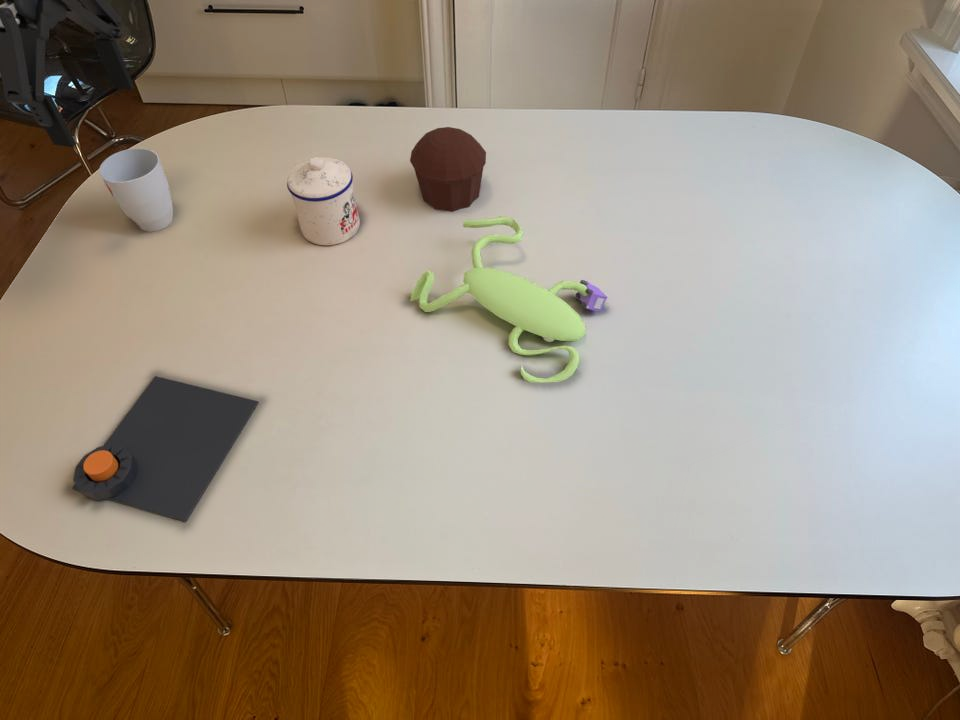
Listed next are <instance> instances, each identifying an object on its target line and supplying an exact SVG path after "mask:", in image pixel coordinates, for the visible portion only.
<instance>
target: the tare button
mask: <svg viewBox="0 0 960 720" xmlns="http://www.w3.org/2000/svg"><path fill="white" fill-rule="evenodd" d="M83 468H84V471H85V472H86V473H87V474H88V476H89V477H90V478H91V479H92V480H94V481H105V480H108V479H109V478H111V477H112V476H113V475H114V474H115V473H116V472H117V470H118V462H117V460H116V459H115V458H114V456H113V455H112V454H111V453H110V452H108V451H105V450H101V451H97V452H94V453H92V454H91V455H90V456H88V457H87V459H86V460H85V462H84V465H83Z"/></svg>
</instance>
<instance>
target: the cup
mask: <svg viewBox="0 0 960 720" xmlns="http://www.w3.org/2000/svg"><path fill="white" fill-rule="evenodd" d="M98 173H99V176H100V177H101V180H102V181H103V182H104V185H105V186H106V188H107V189H108V191H109V193H110V194H111V196H112V197H113V199H114V201H115V202H116V203H117V204H118V205H119V207H120V208H121V210H122V211H123V212H124V214H125V215H126V216H127V217H128V219H130V220H131V221H132V222H133V223H134V225H136V226H137V227H138V228H139V229H140V230H141V231H143V232H147V233H149V232H150V233H152V232H153V233H154V232H160V231H162V230H165V229H166V228H168V227H169V226H170V225H171V224H172V222H173V220H174V211H173V200H172V195H171V191H170V186H169V182H168V179H167V176H166V172H165V171H164V168H163V165H162V161H161V159H160V157H159V155H158V153H157V152H156V151H154V150H152V149H149V148H144V147H134V148H127V149H123V150H120V151H117V152H116V153H113V154H111V155H109V156H108V157H107V158H105V160H103V161H102V162H101V164H100V166H99V168H98Z"/></svg>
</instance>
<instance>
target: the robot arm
mask: <svg viewBox="0 0 960 720" xmlns="http://www.w3.org/2000/svg"><path fill="white" fill-rule="evenodd" d="M67 18H68V19H69V20H71V21H72V22H74V23H76V24H77V25H79V26H80V27H82V28H84V29H85V30H87V31H88V32H89V33H91V34H92V35H94V36H96V37H99V38H95V39H94V40H93V41H92V42H93V45H94V46H95V49H96V51H97V53H98V55H99V58H100V60H101V62H102V65H103V67H104V69H105V71H106V73H107V76H108V79H109V80H110V82H111V85H112V87H113V89H117V90H125V91H133V90H134V89H135V84H134V82H133V80H132V77H131V75H130V73H129V70H128V68H127V65H126V63H125V61H124V60H125V57H124V56H125V55H124V54H123V51H122V49H121V46H120V44H119V41H118V40H121V39H122V38H123V31H122V29H120V28H121V27H122V26H123V19H122V17H121V16H120V15H119V13H118V12H116V10H115V9H114V8H113V7H112V5H110V4H109V2H108V1H107V0H4V3H2V4H0V76H1V77H0V78H1V83H2V89H3V95H4V98H5V100H6V102H7V103H12V104H18V105H19V104H20V105H27V108H28V109H29V111H30V113H31V115H32V116H33V118H34V120H35V122H36V123H37V124H38V125H39V126H42V127H43V128H44V130H45V132H46V134H47V136H48V138H49V139H50V141H51V143H52V144H53V146H58V147H66V148H74V147H75V146H76V145H77V142H76V140H75V139H74V137H73V134H72V133H71V131H70V129H69V127H68V126H67V123H66V121H65V120H64V118H63V116H62V114H61V112H60V109H59V108H58V106H57V105H56V102H55V101H54V98H53V97H52V96H51V94H50V95H49V94H45V79H46V78H45V75H46V74H45V73H46V72H45V71H46V70H45V68H46V41H48V40H49V38H50V31H51V30H53V29H54V28H55V27H56V26H57V25H58V23H59V22H62V21H64V20H66V19H67ZM28 26H29V27H31V28H33V29H29V28H28ZM118 27H119V28H118Z"/></svg>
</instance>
